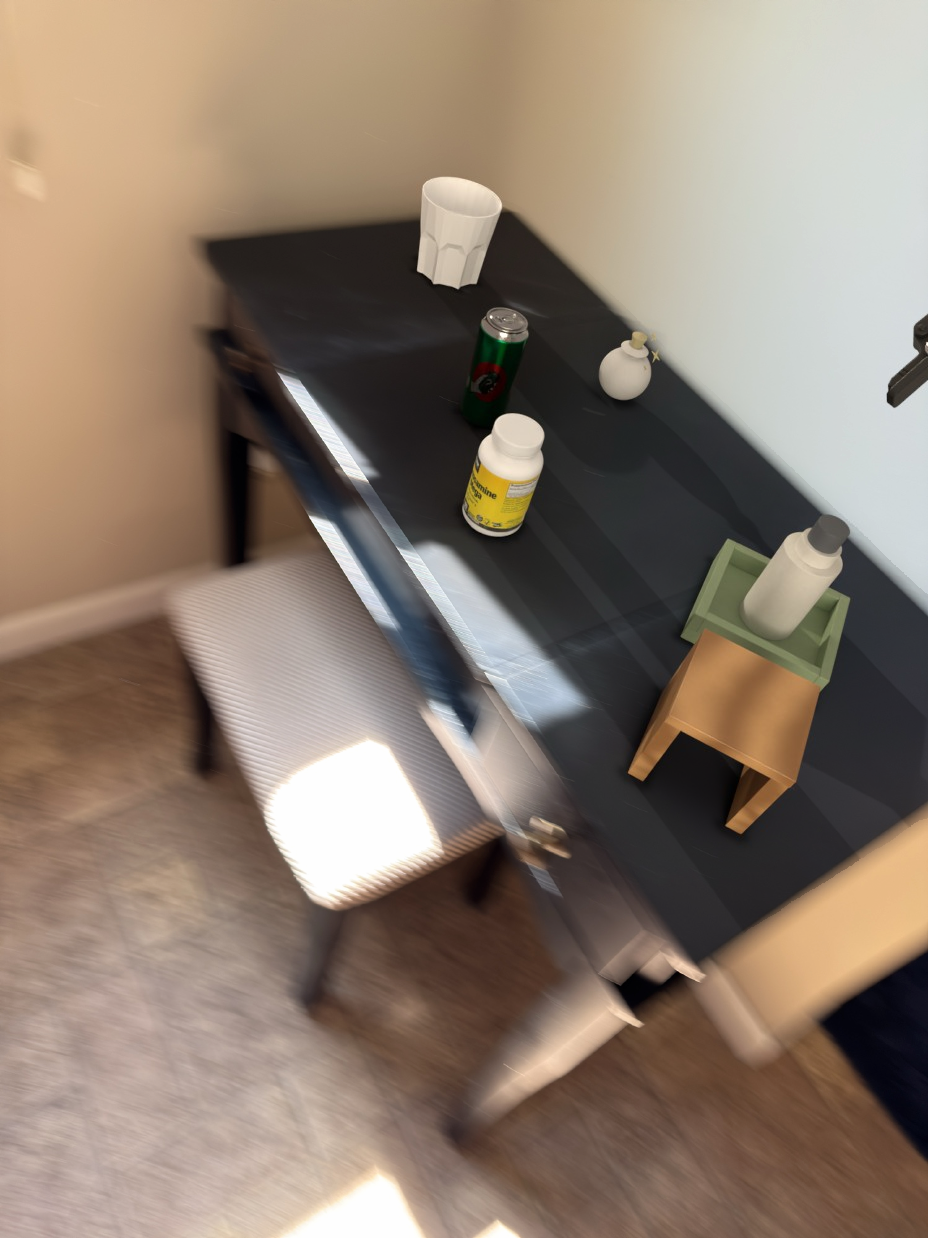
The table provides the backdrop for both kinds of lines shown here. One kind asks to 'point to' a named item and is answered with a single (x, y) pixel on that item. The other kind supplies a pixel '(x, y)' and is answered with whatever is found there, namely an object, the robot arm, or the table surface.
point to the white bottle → (795, 579)
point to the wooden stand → (735, 720)
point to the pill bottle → (504, 476)
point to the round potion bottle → (627, 368)
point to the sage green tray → (798, 653)
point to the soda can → (494, 366)
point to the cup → (455, 229)
